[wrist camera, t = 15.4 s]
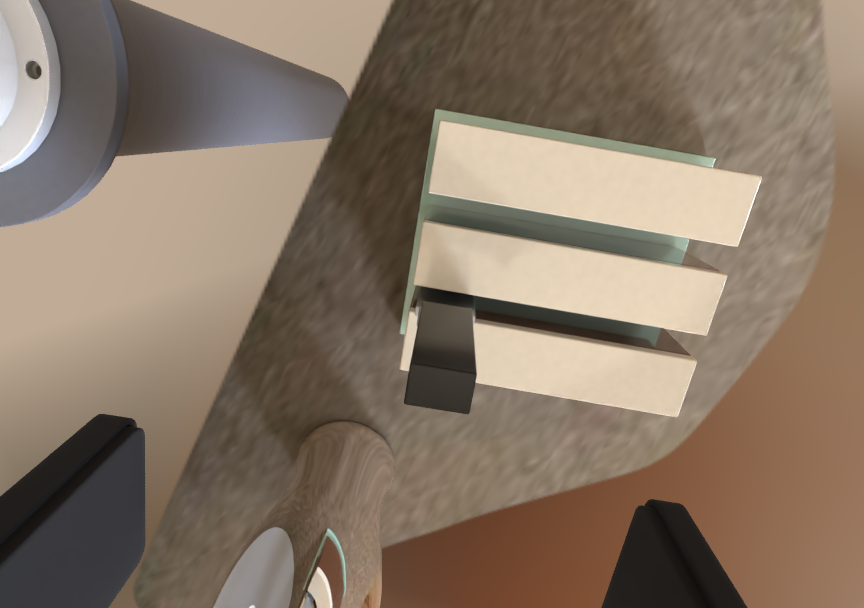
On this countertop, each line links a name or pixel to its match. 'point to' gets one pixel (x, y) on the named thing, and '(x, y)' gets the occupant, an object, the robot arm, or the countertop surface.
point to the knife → (443, 352)
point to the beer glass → (319, 529)
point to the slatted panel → (573, 256)
